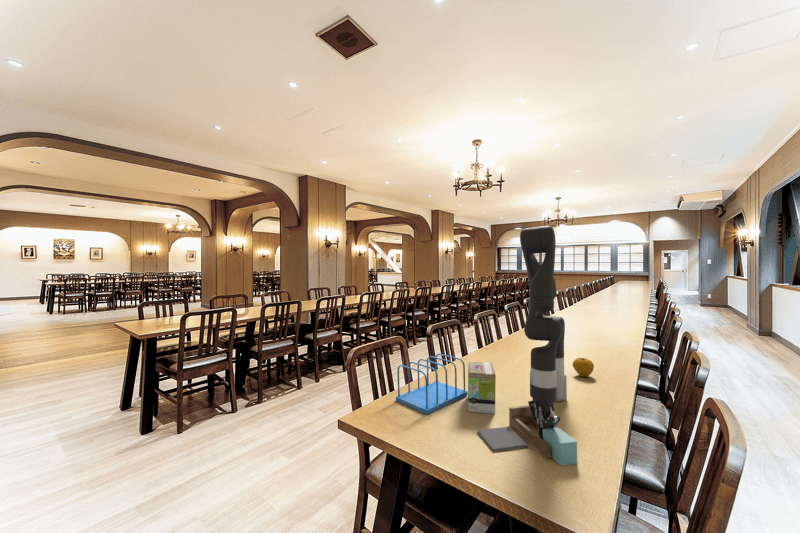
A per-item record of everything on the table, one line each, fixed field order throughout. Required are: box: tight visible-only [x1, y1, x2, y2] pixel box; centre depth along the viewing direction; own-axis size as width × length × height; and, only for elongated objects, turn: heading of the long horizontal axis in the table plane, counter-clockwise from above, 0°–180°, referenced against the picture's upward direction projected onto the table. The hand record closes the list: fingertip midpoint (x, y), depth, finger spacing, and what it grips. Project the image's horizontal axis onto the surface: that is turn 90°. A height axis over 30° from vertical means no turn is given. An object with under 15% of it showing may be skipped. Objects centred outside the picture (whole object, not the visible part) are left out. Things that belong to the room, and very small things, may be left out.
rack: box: [508, 404, 556, 460], centre depth 102 cm, size 9×20×6 cm, turn 11°
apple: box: [572, 357, 595, 378], centre depth 158 cm, size 9×9×9 cm
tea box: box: [467, 361, 497, 414], centre depth 127 cm, size 15×10×15 cm
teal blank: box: [543, 426, 578, 466], centre depth 93 cm, size 5×8×6 cm, turn 10°
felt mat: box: [477, 426, 528, 452], centre depth 101 cm, size 11×11×1 cm
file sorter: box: [395, 353, 468, 415], centre depth 133 cm, size 25×17×15 cm
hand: (543, 438), depth 100 cm, fingers closed
